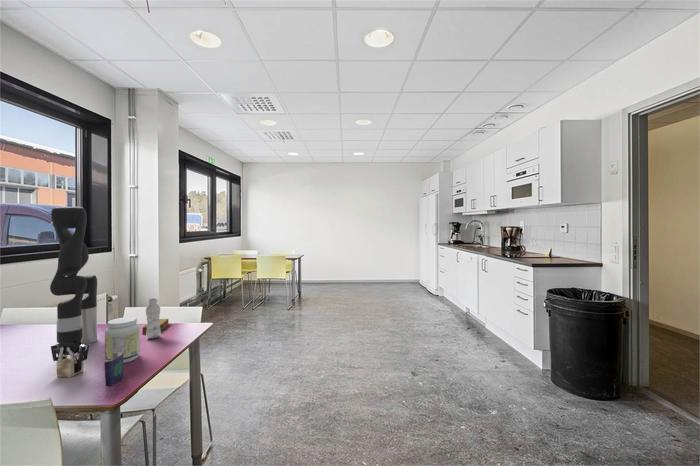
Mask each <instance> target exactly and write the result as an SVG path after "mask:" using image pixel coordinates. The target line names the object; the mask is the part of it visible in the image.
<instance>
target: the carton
mask: <svg viewBox="0 0 700 466" xmlns="http://www.w3.org/2000/svg"><path fill="white" fill-rule="evenodd" d="M159 324H160V329H161V332H162V331H164V329H166V328H167V327H168V326H169V325H170V324H169V318H159ZM146 330H147V324H146V325H144V326H143V327H142V330H141V331H142V335H146Z"/></svg>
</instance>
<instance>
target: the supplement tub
mask: <svg viewBox="0 0 700 466" xmlns="http://www.w3.org/2000/svg"><path fill="white" fill-rule="evenodd" d="M106 324H107V325H106V327H107V328H106V329H105V331H104V362H105V361H106V360H108V358H109V359H110V358H111V357H112V355H113V354H114V353H112V352H119V353H123V364H126V363H129V362H133V361H134V360H136V359H137V358H138V357H140V354H141V353H140V352H141V351H140V349H141V348H140V347H141V346H140V344H141V343H140V342H141V341H140V339H141V337H140V335H141V334H140V325H139V324H138V319H137V317H133V316H129V317H128V316H126V317H117V318H114V319H110V320H109V321H108V322H107V323H106Z"/></svg>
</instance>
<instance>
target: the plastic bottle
mask: <svg viewBox="0 0 700 466" xmlns="http://www.w3.org/2000/svg"><path fill="white" fill-rule="evenodd" d="M145 314H146V315H145V316H146V325H147V330H146V334H145V337H146V338H147V339H150V340H151V339H158V338H159V337H160V336H161V333H162V331H161V329H160V324H159V319H160V314H161V306H159V304H158V299H157V298H149V299H148V305H147V307H145Z"/></svg>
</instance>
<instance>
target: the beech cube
mask: <svg viewBox="0 0 700 466" xmlns="http://www.w3.org/2000/svg"><path fill="white" fill-rule="evenodd" d="M77 359H78V357H77ZM55 362H56V378H71V377H74V376H76V375H78V374H80V373H82V372H84V361H82V369H81V371H80V372H78V373H74V364H75V363H74V360H73V359H72V358H71V357H70V356H67V358H66V359H63V360H61V361H58V362H57V361H55Z"/></svg>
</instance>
